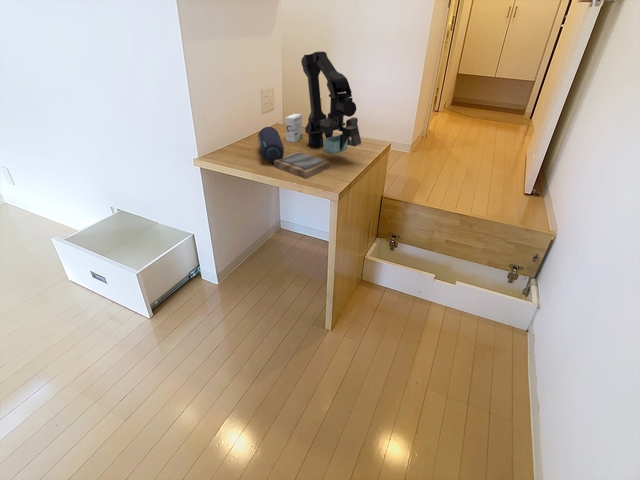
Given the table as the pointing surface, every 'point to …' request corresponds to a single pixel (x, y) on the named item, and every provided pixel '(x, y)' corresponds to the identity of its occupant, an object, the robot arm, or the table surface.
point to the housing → (333, 145)
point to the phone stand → (356, 138)
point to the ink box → (293, 127)
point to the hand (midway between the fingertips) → (335, 147)
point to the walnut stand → (302, 164)
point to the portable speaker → (270, 144)
